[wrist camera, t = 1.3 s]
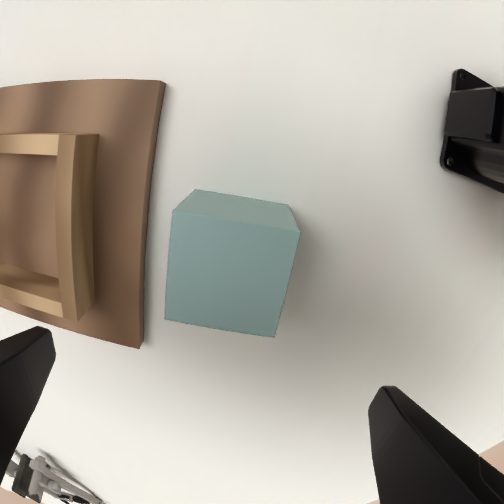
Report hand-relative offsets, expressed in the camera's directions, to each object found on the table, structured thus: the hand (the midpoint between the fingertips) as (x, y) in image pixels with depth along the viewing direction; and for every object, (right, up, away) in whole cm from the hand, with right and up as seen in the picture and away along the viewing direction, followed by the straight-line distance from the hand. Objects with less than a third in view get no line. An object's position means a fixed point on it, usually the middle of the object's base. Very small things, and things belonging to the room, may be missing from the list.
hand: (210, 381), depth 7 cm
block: (0, +4, +10) cm, 11 cm away
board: (-13, +6, +10) cm, 17 cm away
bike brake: (-28, -31, +24) cm, 49 cm away
